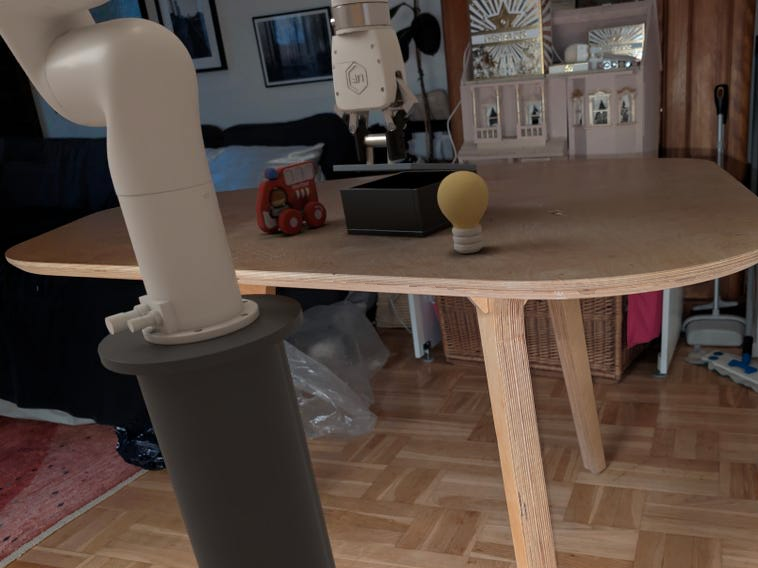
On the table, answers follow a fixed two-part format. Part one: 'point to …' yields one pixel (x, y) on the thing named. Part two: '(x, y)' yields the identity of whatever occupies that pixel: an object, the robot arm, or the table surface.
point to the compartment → (396, 205)
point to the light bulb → (464, 208)
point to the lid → (380, 141)
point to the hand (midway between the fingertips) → (381, 158)
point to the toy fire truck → (289, 199)
